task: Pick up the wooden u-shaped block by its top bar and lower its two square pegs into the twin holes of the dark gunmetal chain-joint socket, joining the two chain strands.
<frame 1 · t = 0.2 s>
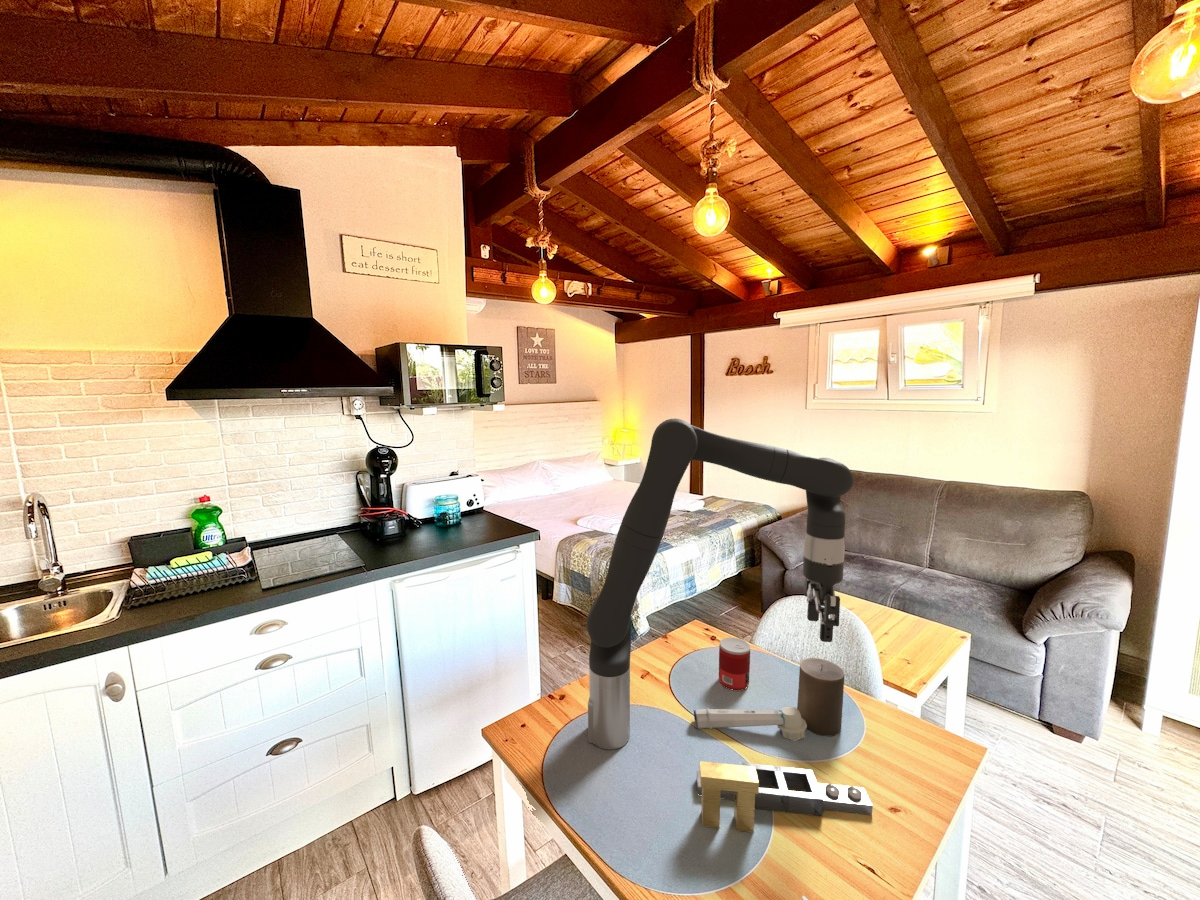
hand: (819, 630, 99), 29 cm above the table, fingers open, 8 cm apart
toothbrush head: (748, 731, 110), on the table
chain ends: (780, 796, 92), on the table
wooden u-shaped block: (726, 821, 87), on the table
pillar candle: (818, 722, 113), on the table
canned food: (733, 683, 128), on the table
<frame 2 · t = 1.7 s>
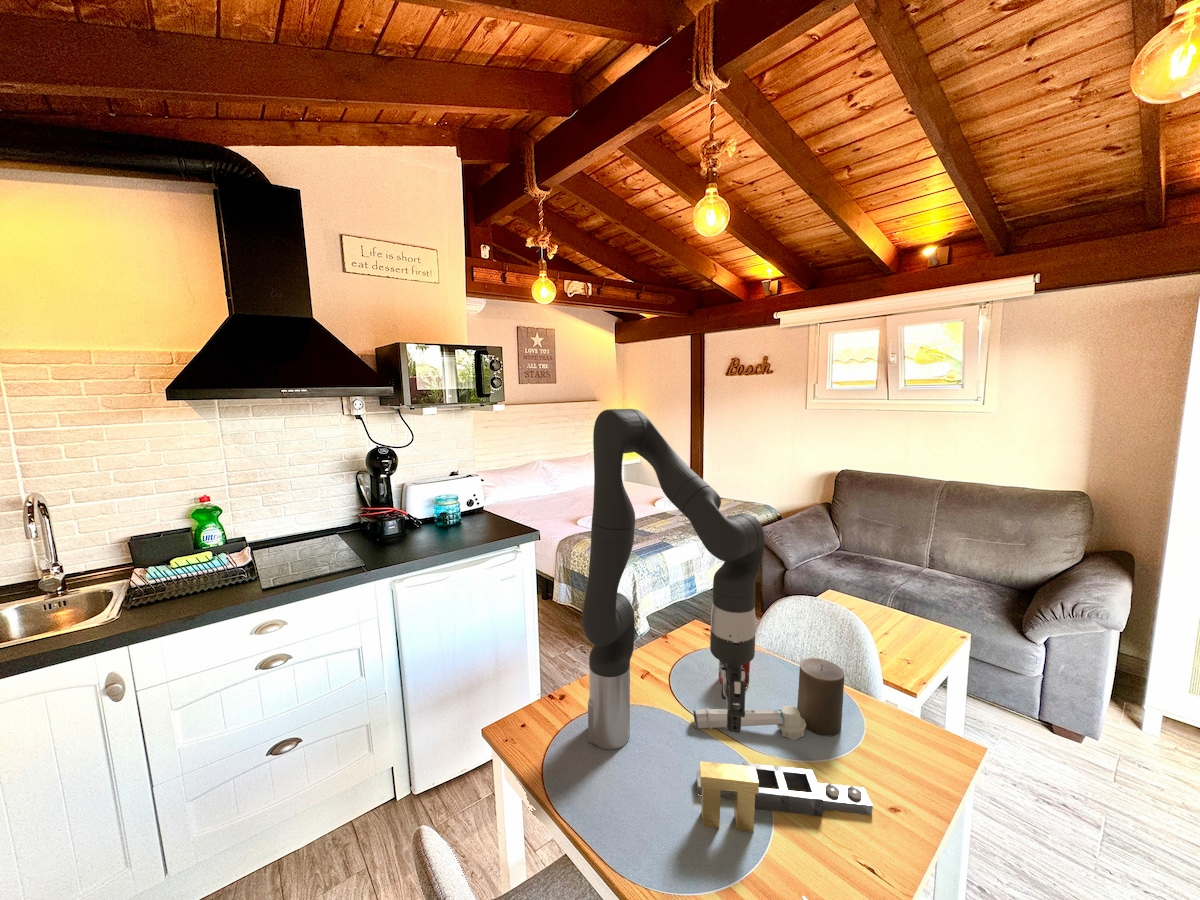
hand: (730, 714, 84), 21 cm above the table, fingers open, 8 cm apart
nothing on the table moved.
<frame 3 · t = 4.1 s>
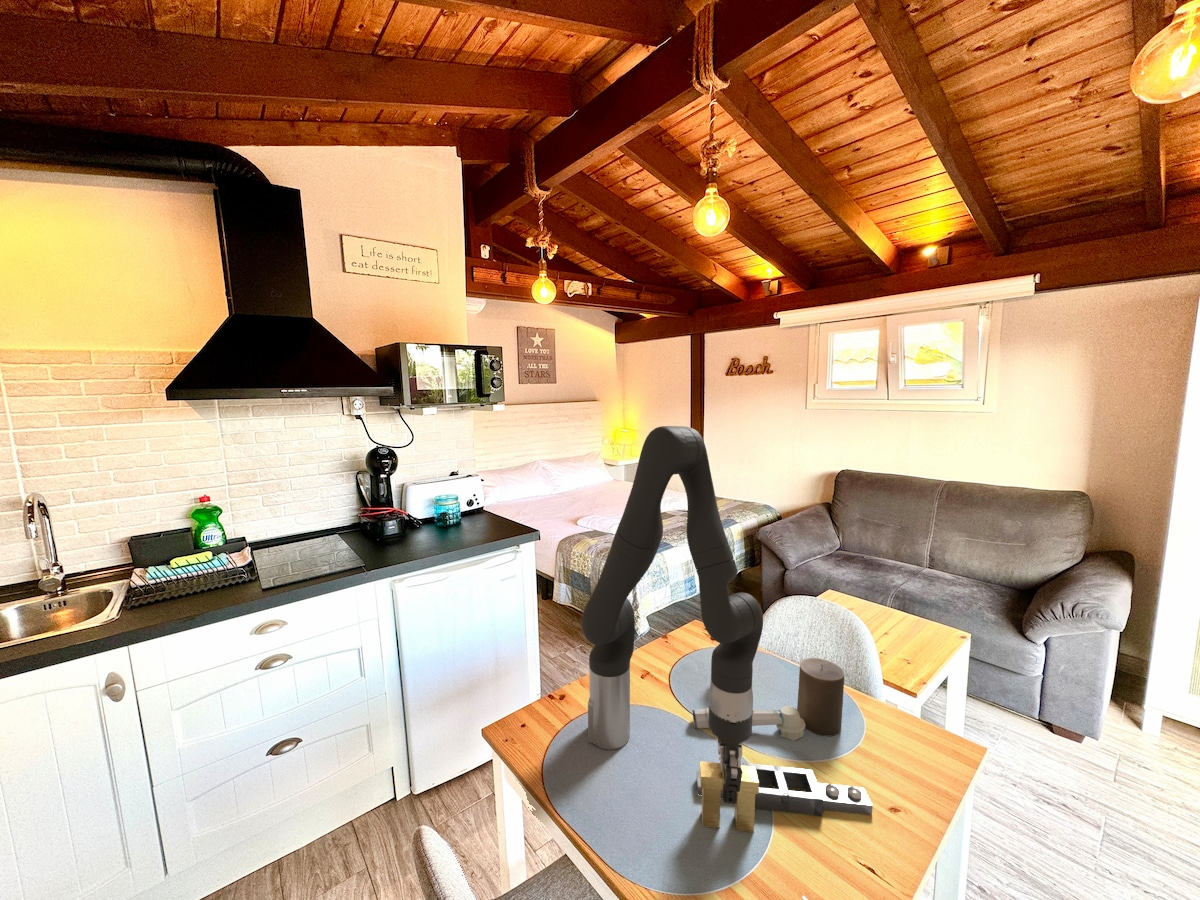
hand: (727, 791, 86), 6 cm above the table, fingers closed on wooden u-shaped block, 3 cm apart
wooden u-shaped block: (727, 821, 87), on the table, touching gripper
everything else where it was.
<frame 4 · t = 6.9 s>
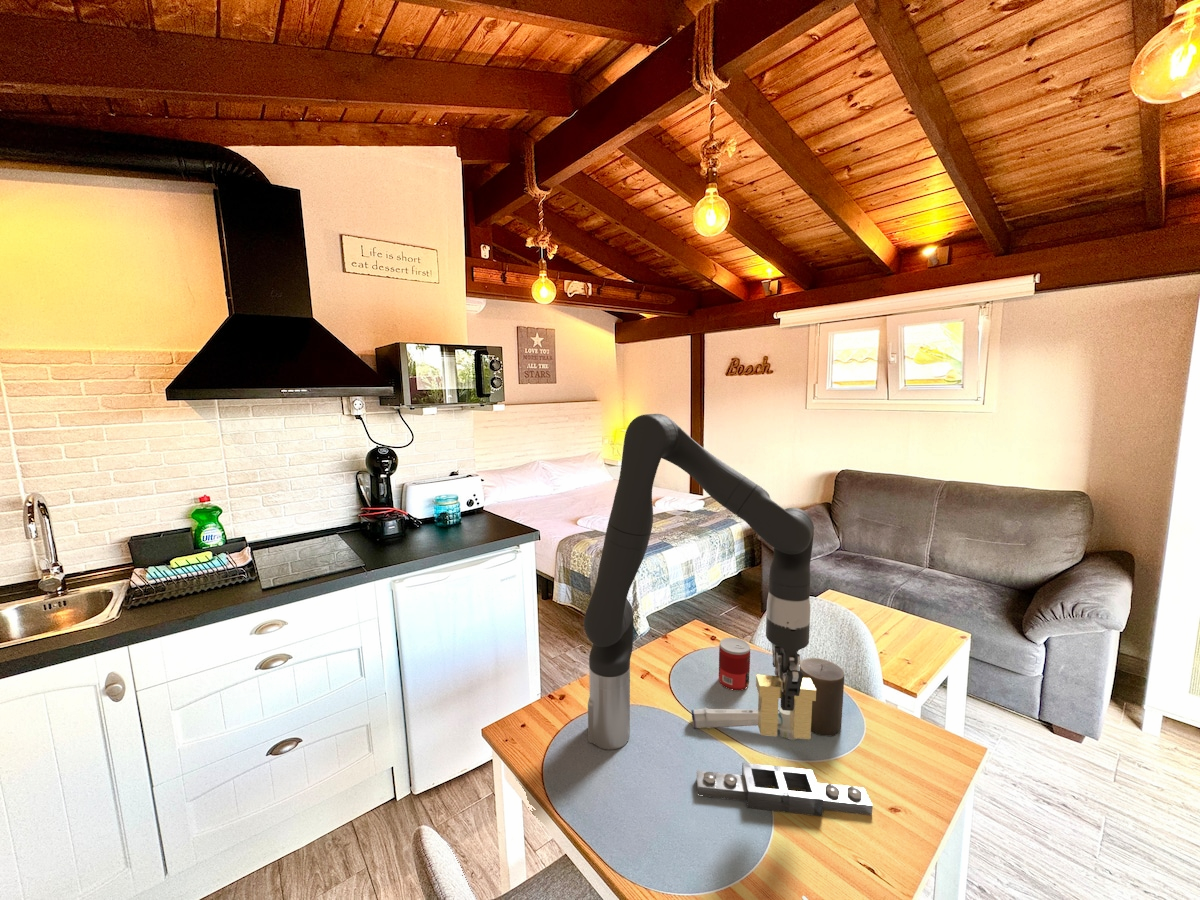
hand: (784, 701, 90), 20 cm above the table, fingers closed on wooden u-shaped block, 3 cm apart
wooden u-shaped block: (783, 731, 91), point 14 cm above the table, touching gripper
everything else where it was.
when the fingers open (8 cm above the table, at t = 10.0 s): wooden u-shaped block drops 1 cm, resting in chain ends.
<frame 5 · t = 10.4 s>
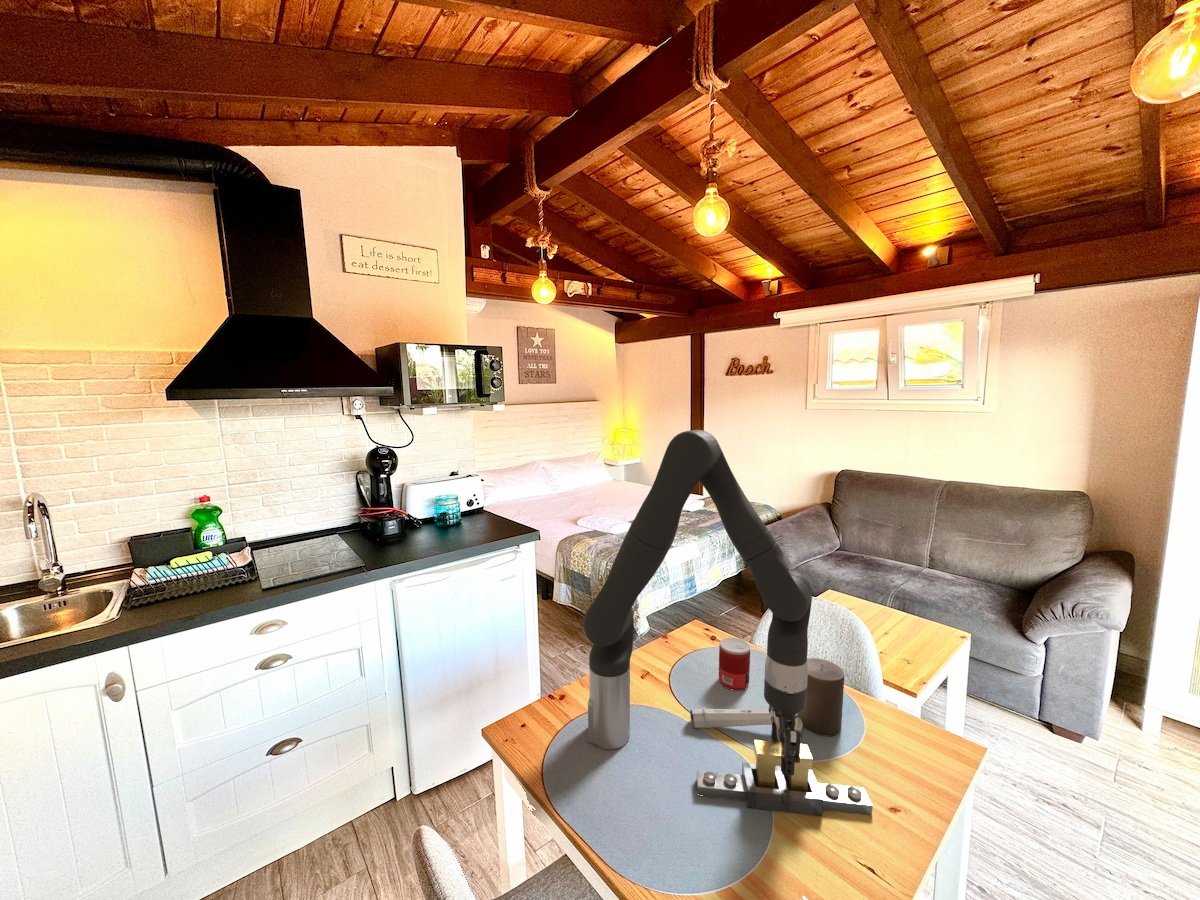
hand: (782, 757, 91), 8 cm above the table, fingers open, 7 cm apart
wooden u-shaped block: (780, 796, 92), resting in chain ends
everything else where it was.
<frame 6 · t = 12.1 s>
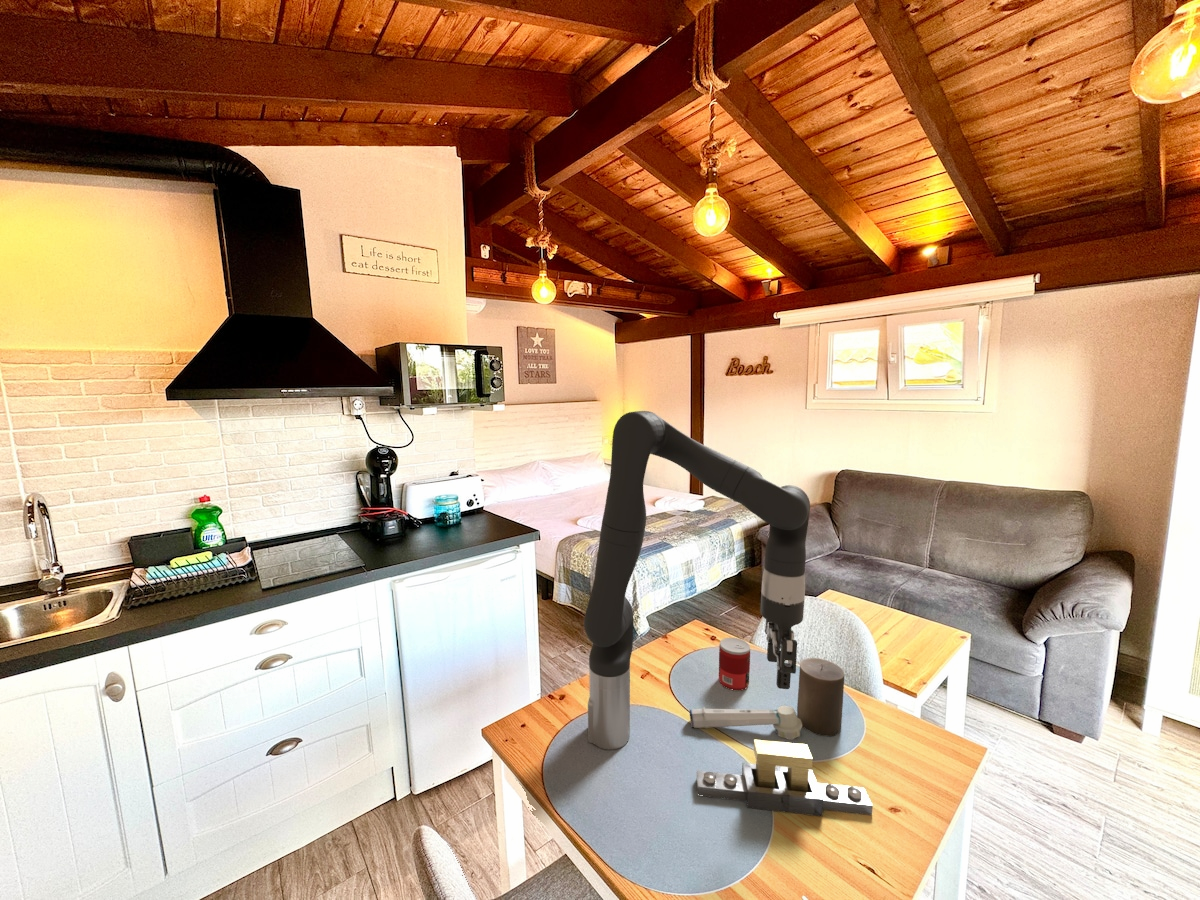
hand: (777, 673, 90), 25 cm above the table, fingers open, 8 cm apart
nothing on the table moved.
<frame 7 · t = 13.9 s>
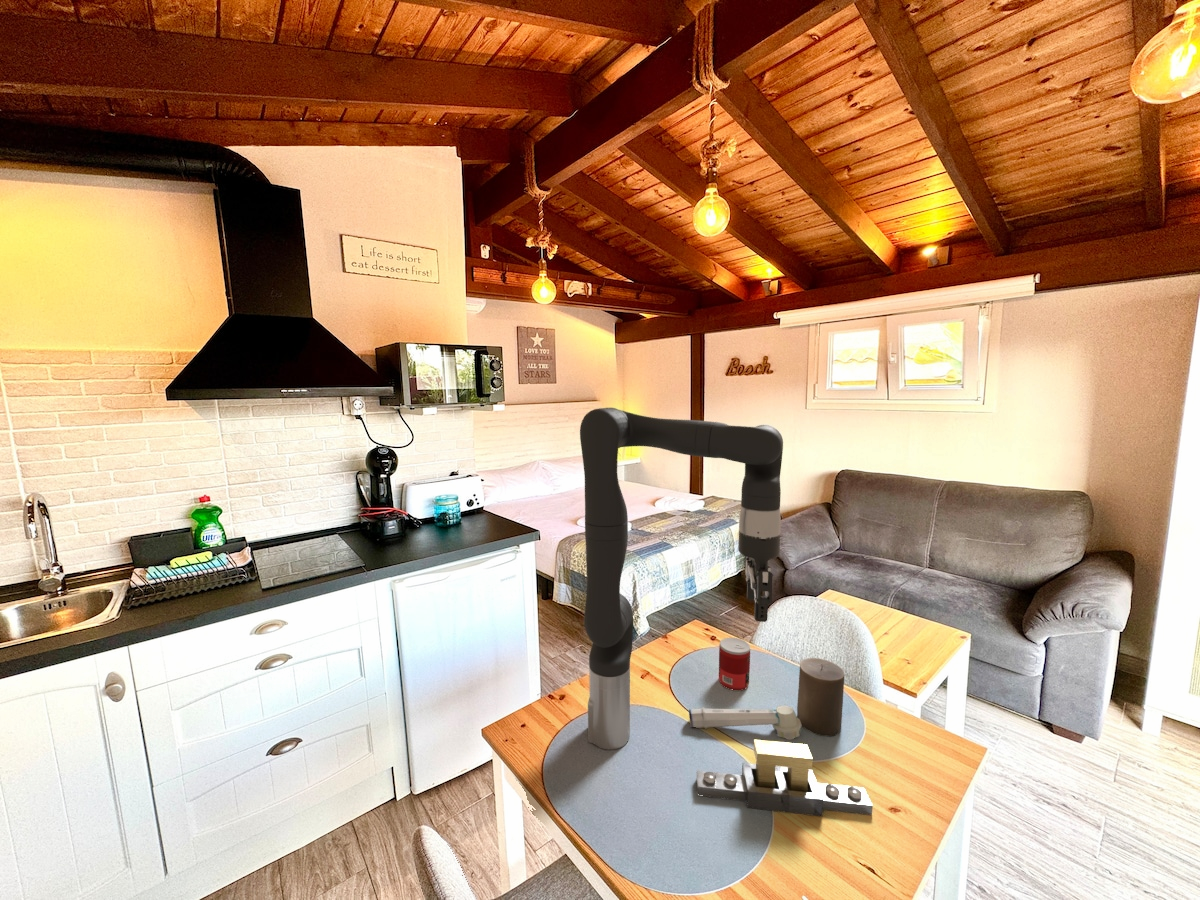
hand: (756, 610, 92), 36 cm above the table, fingers open, 8 cm apart
at the end: wooden u-shaped block 0.0 cm off-centre on the chain ends, point 0.0 cm above the chain ends's base; wooden u-shaped block tilted 0°; the gripper is holding nothing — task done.
